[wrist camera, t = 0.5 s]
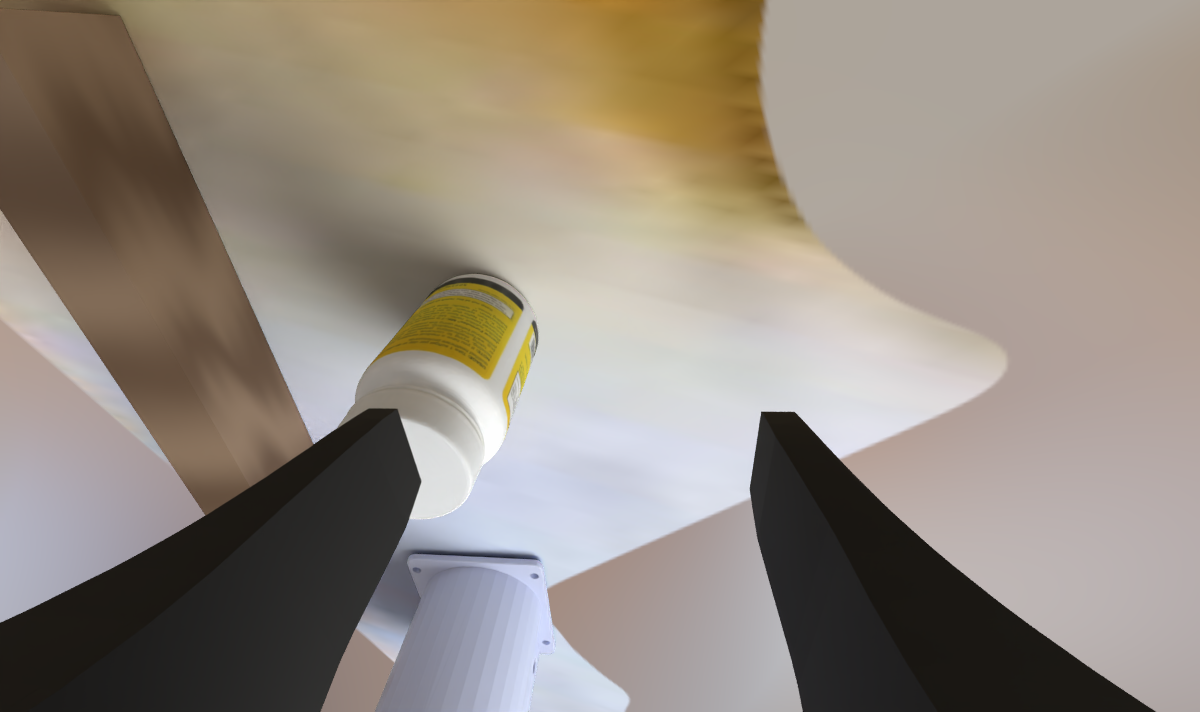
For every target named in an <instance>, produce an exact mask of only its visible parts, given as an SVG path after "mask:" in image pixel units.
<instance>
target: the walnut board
mask: <svg viewBox="0 0 1200 712" xmlns="http://www.w3.org/2000/svg"><path fill="white" fill-rule="evenodd" d="M0 209H1V211H2V212H3V214H4V215H5V217H6V218H7V220H8V221H9V223H10V224H11V226H12V227H13V229H14V230H15V232H16V233H17V235H18V236H19V238H20V239H21V241H22V242H23V244H24V245H25V247H26V248H27V250H28V251H29V253H30V254H31V256H32V257H33V259H34V260H35V262H36V263H37V265H38V266H39V268H40V269H41V271H42V272H43V274H44V275H45V277H46V278H47V279H48V281H49V282H50V284H51V285H52V287H53V288H54V290H55V291H56V293H57V294H58V296H59V297H60V299H61V300H62V302H63V303H64V305H65V306H66V308H67V309H68V311H69V312H70V314H71V315H72V317H73V318H74V320H75V321H76V323H77V324H78V326H79V327H80V329H81V330H82V332H83V333H84V335H85V336H86V338H87V339H88V341H89V342H90V344H91V345H92V347H93V348H94V350H95V351H96V353H97V354H98V356H99V357H100V359H101V360H102V362H103V363H104V365H105V366H106V368H107V369H108V371H109V372H110V374H111V375H112V377H113V378H114V380H115V381H116V382H117V384H118V385H119V387H120V388H121V390H122V391H123V393H124V394H125V396H126V397H127V399H128V400H129V402H130V403H131V405H132V406H133V408H134V409H135V411H136V412H137V414H138V415H139V417H140V418H141V420H142V421H143V423H144V424H145V426H146V427H147V429H148V430H149V432H150V433H151V435H152V436H153V438H154V439H155V441H156V442H157V444H158V445H159V447H160V448H161V450H162V451H163V453H164V454H165V456H166V457H167V459H168V460H169V462H170V463H171V465H172V466H173V468H174V469H175V471H176V472H177V474H178V475H179V477H180V478H181V480H182V481H183V482H184V484H185V485H186V487H187V488H188V490H189V491H190V493H191V494H192V496H193V497H194V499H195V500H196V502H197V503H198V505H199V506H200V508H201V509H202V511H203V512H204V514H205V515H207V514H209V513H210V512H212V511H214V510H215V509H217V508H218V507H220V506H221V505H223V504H224V503H226V502H228V501H229V500H231V499H232V498H234V497H235V496H237V495H239V494H240V493H242V492H243V491H245V490H246V489H248V488H250V487H251V486H253V485H254V484H256V483H257V482H259V481H260V480H262V479H264V478H265V477H267V476H268V475H270V474H271V473H273V472H274V471H276V470H277V469H278V468H280V467H281V466H283V465H284V464H286V463H287V462H289V461H290V460H292V459H293V458H295V457H296V456H298V455H299V454H300V453H302V452H303V451H305V450H306V449H308V448H309V447H311V446H312V445H313V443H312V440H311V438H310V436H309V434H308V431H307V429H306V427H305V425H304V423H303V420H302V418H301V416H300V414H299V411H298V409H297V407H296V405H295V403H294V400H293V398H292V396H291V394H290V392H289V389H288V387H287V385H286V383H285V380H284V378H283V376H282V374H281V372H280V369H279V367H278V365H277V363H276V361H275V358H274V356H273V354H272V352H271V349H270V347H269V345H268V343H267V341H266V338H265V336H264V334H263V332H262V330H261V327H260V325H259V323H258V321H257V318H256V316H255V314H254V312H253V310H252V307H251V305H250V303H249V301H248V298H247V296H246V294H245V292H244V290H243V287H242V285H241V283H240V281H239V279H238V276H237V274H236V272H235V270H234V267H233V265H232V263H231V261H230V259H229V256H228V254H227V252H226V250H225V248H224V245H223V243H222V241H221V239H220V236H219V234H218V232H217V230H216V228H215V225H214V223H213V221H212V219H211V217H210V214H209V212H208V210H207V208H206V205H205V203H204V201H203V199H202V197H201V194H200V192H199V190H198V188H197V185H196V183H195V181H194V179H193V177H192V174H191V172H190V170H189V168H188V166H187V163H186V161H185V159H184V157H183V154H182V152H181V150H180V148H179V146H178V143H177V141H176V139H175V137H174V135H173V132H172V130H171V128H170V126H169V123H168V121H167V119H166V117H165V115H164V112H163V110H162V108H161V106H160V104H159V101H158V99H157V97H156V95H155V92H154V90H153V88H152V86H151V84H150V81H149V79H148V77H147V75H146V72H145V70H144V68H143V66H142V64H141V61H140V59H139V57H138V55H137V53H136V50H135V48H134V46H133V44H132V41H131V39H130V37H129V35H128V33H127V30H126V28H125V26H124V24H123V22H122V19H121V17H120V16H116V15H100V14H84V13H68V12H52V11H36V10H19V9H3V8H0Z"/></svg>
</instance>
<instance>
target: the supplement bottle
mask: <svg viewBox="0 0 1200 712" xmlns="http://www.w3.org/2000/svg"><path fill="white" fill-rule="evenodd" d="M538 341H539V326H538V322H537V318H536V315H535V313H534V311H533V309H532V307H531V306H530V304H529V303H528V302H527V300H526V299H525V298H524V297H523V296H522V295H521V294H520V293H519V292H518V291H517V290H516V289H515V288H513V287H512V286H511V285H509V284H508V283H506V282H504V281H502V280H500V279H498V278H495V277H492V276H488V275H482V274H466V275H460V276H456V277H453V278H451V279H449V280H447V281H445V282H444V283H442V284H441V285H439V286H438V287H437V288H436V289H435V290H434V291H433V292H432V293H431V294H430V295H429V296H428V297H427V298H426V300H425V301H424V302H423V303H422V305H421V306H420V307H419V308H418V310H417V311H416V312H415V313H414V314H413V315H412V316H411V317H410V319H409V320H408V321H407V322H406V323H405V325H404V326H403V327H402V328H401V329H400V330H399V332H398V333H397V334H396V335H395V336H394V338H393V339H392V340H391V341H390V342H389V343H388V345H387V346H386V347H385V348H384V349H383V350H382V352H381V353H380V354H379V355H378V356H377V357H376V359H375V360H374V361H373V362H372V363H371V364H370V366H369V367H368V368H367V369H366V371H365V372H364V374H363V375H362V377H361V379H360V381H359V383H358V386H357V390H356V395H355V404H354V405H353V406H352V407H351V409H350V410H349V412H348V413H347V415H346V416H345V418H344V419H343V421H342V422H341V423H340V425H339V426H338V428H339V427H340V426H342V425H343V424H345V423H346V422H348V421H349V420H351V419H352V418H354V417H355V416H357V415H359V414H360V413H362V412H364V411H365V410H367V409H369V408H393V409H398V412H399V415H400V418H401V421H402V424H403V427H404V430H405V433H406V436H407V439H408V442H409V445H410V448H411V451H412V454H413V457H414V460H415V463H416V466H417V469H418V472H419V475H420V478H421V481H422V482H421V485H420V488H419V491H418V494H417V497H416V500H415V504H414V507H413V509H412V512H411V515H410V518H409V519H432V518H436V517H441V516H443V515H446V514H449V513H451V512H452V511H454V510H456V509H457V508H458V507H460V506H461V505H462V504H463V503H464V502H465V500H466V499H467V498H468V496H469V494H470V492H471V490H472V487H473V485H474V483H475V481H476V479H477V476H478V474H479V472H480V470H481V468H482V465H483V464H485V463H486V462H488V461H489V460H490V459H491V458H492V457H493V456H494V455H495V454H496V452H497V451H498V449H499V448H500V446H501V444H502V443H503V441H504V439H505V436H506V433H507V430H508V428H509V425H510V422H511V419H512V416H513V413H514V410H515V408H516V405H517V402H518V399H519V397H520V394H521V391H522V388H523V386H524V383H525V380H526V377H527V374H528V371H529V369H530V366H531V363H532V360H533V357H534V355H535V352H536V349H537V345H538Z"/></svg>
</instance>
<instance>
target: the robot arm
mask: <svg viewBox="0 0 1200 712" xmlns="http://www.w3.org/2000/svg"><path fill="white" fill-rule="evenodd" d="M421 482H422V481H421V478H420V475H419V472H418V469H417V466H416V463H415V460H414V457H413V454H412V451H411V448H410V445H409V442H408V439H407V436H406V433H405V430H404V427H403V424H402V421H401V418H400V415H399V412H398V409H393V408H369V409H367V410H365V411H364V412H362V413H360V414H359V415H357V416H355V417H354V418H352V419H351V420H349V421H348V422H346V423H345V424H343V425H342V426H340V427H339V428H337V429H336V430H334V431H333V432H331V433H330V434H328V435H327V436H325V437H324V438H322V439H321V440H319V441H318V442H317V443H315V444H314V445H312V446H311V447H309V448H308V449H306V450H305V451H303V452H302V453H300V454H299V455H298V456H296V457H295V458H293V459H292V460H290V461H289V462H287V463H286V464H284V465H283V466H281V467H280V468H278V469H277V470H276V471H274V472H273V473H271V474H270V475H268V476H267V477H265V478H264V479H262V480H260V481H259V482H257V483H256V484H254V485H253V486H251V487H250V488H248V489H246V490H245V491H243V492H242V493H240V494H239V495H237V496H235V497H234V498H232V499H231V500H229V501H228V502H226V503H224V504H223V505H221V506H220V507H218V508H217V509H215V510H214V511H212V512H210V513H209V514H207V515H206V516H204V517H202V518H201V519H199V520H197V521H196V522H194V523H192V524H191V525H189V526H187V527H186V528H184V529H182V530H180V531H179V532H177V533H175V534H174V535H172V536H170V537H168V538H167V539H165V540H163V541H161V542H159V543H158V544H156V545H154V546H152V547H150V548H149V549H147V550H145V551H143V552H142V553H140V554H138V555H136V556H134V557H132V558H131V559H129V560H127V561H125V562H123V563H121V564H119V565H117V566H115V567H114V568H112V569H110V570H108V571H106V572H104V573H102V574H100V575H98V576H96V577H94V578H91V579H90V580H87V581H85V582H83V583H81V584H79V585H78V586H75V587H74V588H71V589H70V590H68V591H65V592H63V593H61V594H59V595H58V596H55V597H53V598H51V599H49V600H48V601H45V602H43V603H41V604H40V605H37V606H35V607H34V608H31V609H29V610H27V611H25V612H23V613H21V614H18V615H16V616H14V617H12V618H10V619H8V620H5V621H4V622H1V623H0V712H320V711H321V709H322V706H323V704H324V701H325V699H326V696H327V693H328V691H329V688H330V686H331V683H332V681H333V678H334V676H335V673H336V671H337V668H338V665H339V663H340V661H341V658H342V656H343V654H344V652H345V650H346V647H347V645H348V643H349V641H350V639H351V637H352V634H353V632H354V630H355V628H356V626H357V625H358V623H359V621H360V619H361V617H362V615H363V613H364V611H365V609H366V607H367V605H368V603H369V601H370V599H371V597H372V595H373V593H374V591H375V589H376V587H377V585H378V583H379V581H380V579H381V577H382V575H383V573H384V571H385V569H386V567H387V565H388V563H389V561H390V559H391V557H392V555H393V553H394V551H395V549H396V547H397V545H398V543H399V541H400V539H401V537H402V535H403V532H404V530H405V528H406V526H407V523H408V520H409V518H410V515H411V512H412V509H413V507H414V504H415V500H416V497H417V494H418V491H419V488H420V485H421ZM750 494H751V501H752V508H753V514H754V520H755V526H756V532H757V538H758V542H759V546H760V550H761V553H762V557H763V560H764V564H765V568H766V571H767V575H768V578H769V582H770V585H771V589H772V592H773V596H774V600H775V603H776V606H777V610H778V613H779V617H780V621H781V624H782V628H783V631H784V635H785V638H786V641H787V645H788V649H789V652H790V656H791V659H792V664H793V668H794V672H795V676H796V680H797V684H798V688H799V694H800V698H801V704H802V709H803V712H1155V711H1154V710H1152V709H1151V708H1149V707H1148V706H1146V705H1145V704H1143V703H1142V702H1140V701H1138V700H1137V699H1136V698H1134V697H1133V696H1131V695H1130V694H1128V693H1127V692H1125V691H1124V690H1122V689H1121V688H1119V687H1118V686H1116V685H1115V684H1113V683H1112V682H1110V681H1109V680H1107V679H1106V678H1104V677H1103V676H1101V675H1100V674H1098V673H1097V672H1095V671H1094V670H1092V669H1091V668H1090V667H1088V666H1087V665H1085V664H1084V663H1082V662H1081V661H1080V660H1078V659H1077V658H1075V657H1074V656H1073V655H1071V654H1069V653H1068V652H1067V651H1066V650H1064V649H1063V648H1061V647H1060V646H1058V645H1057V644H1056V643H1054V642H1053V641H1051V640H1050V639H1049V638H1047V637H1046V636H1044V635H1043V634H1041V633H1040V632H1039V631H1037V630H1036V629H1035V628H1033V627H1032V626H1030V625H1029V624H1028V623H1026V622H1025V621H1024V620H1022V619H1021V618H1020V617H1018V616H1017V615H1015V614H1014V613H1013V612H1012V611H1010V610H1009V609H1007V608H1006V607H1005V606H1004V605H1002V604H1001V603H1000V602H998V601H997V600H996V599H994V598H993V597H992V596H991V595H989V594H988V593H987V592H986V591H984V590H983V589H982V588H981V587H979V586H978V585H977V584H976V583H974V582H973V581H972V580H970V579H969V578H968V577H967V576H966V575H964V574H963V573H962V572H960V571H959V570H958V569H957V568H955V567H954V566H953V565H952V564H950V563H949V562H948V561H947V560H945V558H943V557H942V556H941V555H940V554H939V553H937V552H936V551H935V550H934V549H933V548H932V547H930V546H929V545H928V544H927V543H926V542H925V541H924V540H922V539H921V538H920V537H919V536H918V535H917V534H916V533H915V532H914V531H912V530H911V529H910V528H909V527H908V526H907V525H906V524H905V523H904V522H902V521H901V520H900V519H899V518H898V517H897V516H896V515H895V514H893V512H891V511H890V510H889V509H888V508H887V507H886V506H885V505H884V504H883V503H882V502H881V501H880V500H879V499H878V498H877V497H876V496H875V495H874V494H873V493H872V492H871V491H870V490H869V489H868V488H867V487H866V486H865V485H864V484H863V483H862V482H861V481H860V480H859V479H858V478H857V477H856V476H855V475H854V474H853V473H852V472H851V471H850V470H849V469H848V468H847V467H846V466H845V465H844V464H843V463H842V462H841V461H840V460H839V459H838V458H837V456H836V455H835V454H834V453H833V452H832V451H831V450H830V449H829V448H828V447H827V446H826V445H825V444H824V443H823V442H822V440H821V439H820V438H819V437H818V436H817V435H816V434H815V433H814V432H813V431H812V430H811V429H810V428H809V426H808V425H807V424H806V423H805V422H804V421H803V420H802V419H801V418H800V417H799V416H798V415H797V414H796V413H795V412H761V418H760V424H759V431H758V438H757V444H756V451H755V457H754V464H753V471H752V477H751V484H750ZM407 565H408V568H409V570H410V573H411V576H412V578H413V581H414V583H415V586H416V589H417V591H418V594H419V596H420V599H421V600H420V602H419V605H418V607H417V610H416V612H415V615H414V617H413V619H412V622H411V624H410V627H409V629H408V632H407V634H406V637H405V639H404V641H403V644H402V646H401V649H400V651H399V654H398V656H397V658H396V661H395V663H394V666H393V668H392V671H391V673H390V676H389V678H388V681H387V683H386V685H385V688H384V690H383V693H382V695H381V698H380V700H379V702H378V705H377V707H376V710H375V712H529V710H530V704H531V699H532V693H533V688H534V682H535V676H536V671H537V665H538V659H539V654H553V653H554V652H555V646H556V645H555V639H554V632H553V626H552V620H551V613H550V607H549V600H548V594H547V587H546V581H545V574H544V568H543V564H542V563H541V562H540V561H538V560H532V559H512V558H491V557H470V556H449V555H428V554H412V555H410V556H409V558H408V560H407Z"/></svg>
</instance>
